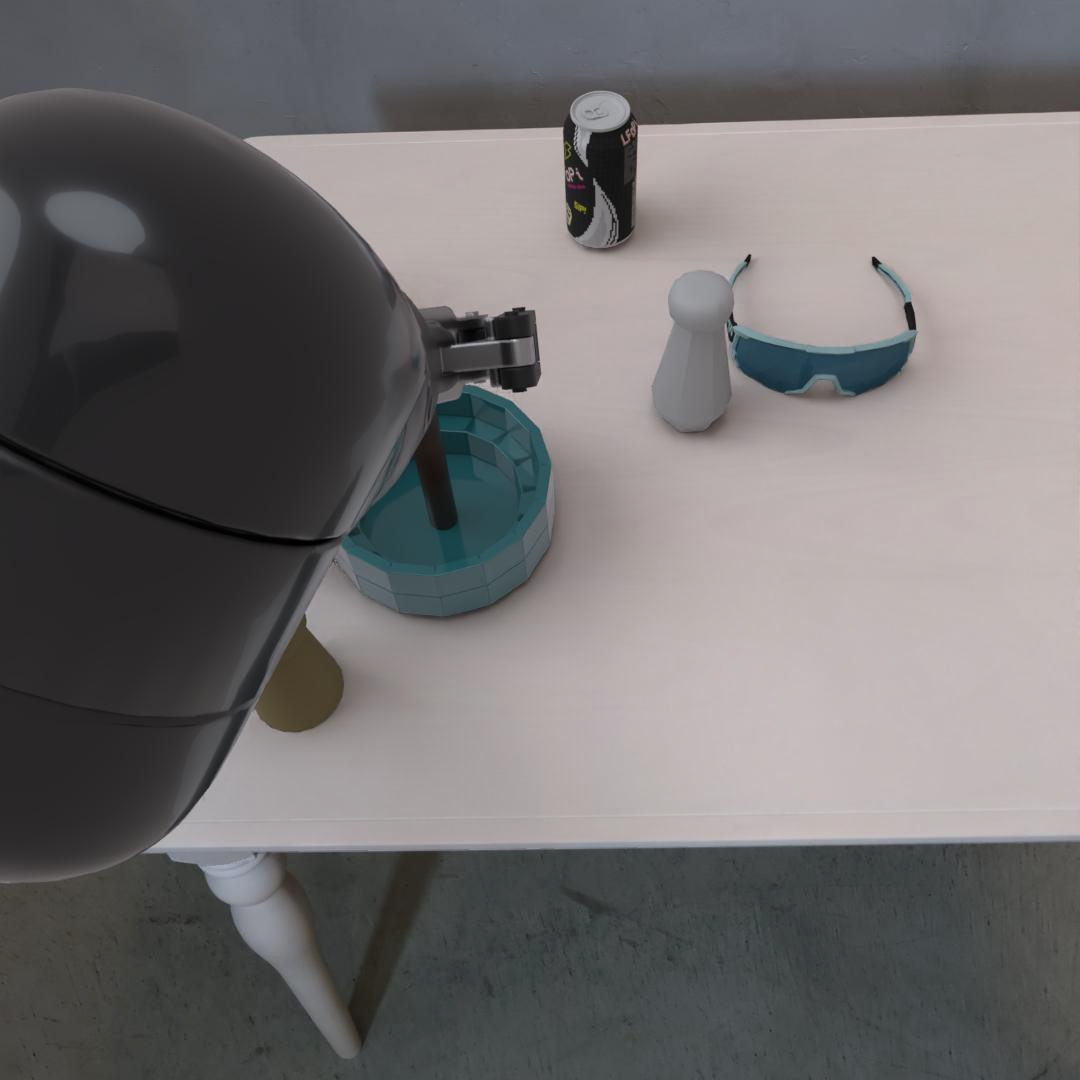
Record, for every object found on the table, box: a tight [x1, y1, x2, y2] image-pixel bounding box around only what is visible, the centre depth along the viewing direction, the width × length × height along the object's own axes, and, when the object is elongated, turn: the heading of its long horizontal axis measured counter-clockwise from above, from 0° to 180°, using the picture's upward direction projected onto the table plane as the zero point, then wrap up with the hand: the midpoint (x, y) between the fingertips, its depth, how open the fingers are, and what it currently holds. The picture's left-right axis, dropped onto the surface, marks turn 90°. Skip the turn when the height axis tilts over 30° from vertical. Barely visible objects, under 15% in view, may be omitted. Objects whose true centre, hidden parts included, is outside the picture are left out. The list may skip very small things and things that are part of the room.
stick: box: [413, 408, 458, 530], centre depth 71 cm, size 2×2×20 cm
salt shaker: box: [651, 269, 735, 434], centre depth 79 cm, size 6×6×13 cm
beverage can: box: [562, 90, 639, 249], centre depth 90 cm, size 6×6×12 cm
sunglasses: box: [726, 253, 919, 397], centre depth 87 cm, size 14×15×5 cm
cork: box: [254, 613, 345, 733], centre depth 69 cm, size 6×6×11 cm
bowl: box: [335, 384, 556, 617], centre depth 77 cm, size 16×16×6 cm
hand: (367, 353), depth 48 cm, fingers open, 8 cm apart
